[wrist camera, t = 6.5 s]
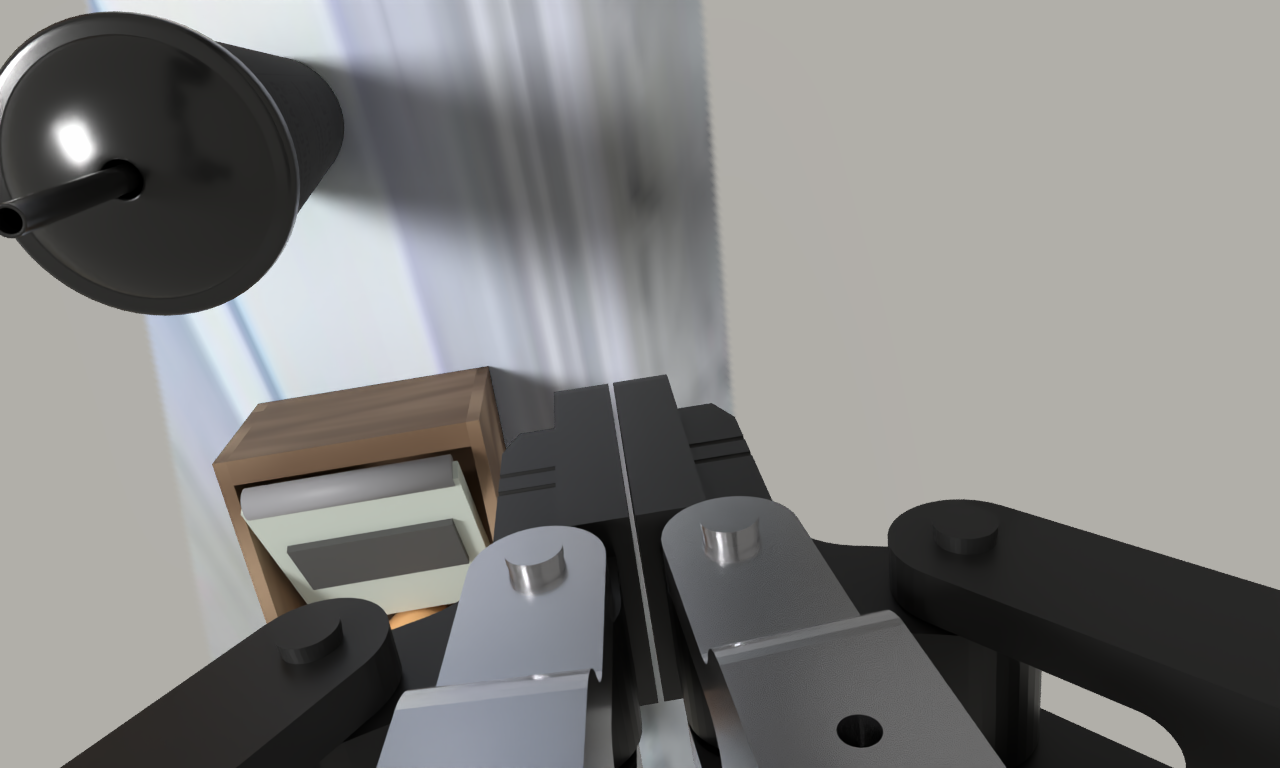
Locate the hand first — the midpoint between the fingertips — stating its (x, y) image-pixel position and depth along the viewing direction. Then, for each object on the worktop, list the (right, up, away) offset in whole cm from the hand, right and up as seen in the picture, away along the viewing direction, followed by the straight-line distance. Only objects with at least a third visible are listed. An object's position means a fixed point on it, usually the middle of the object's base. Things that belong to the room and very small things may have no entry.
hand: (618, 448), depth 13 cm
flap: (-10, -5, +26) cm, 28 cm away
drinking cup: (-14, +11, +24) cm, 30 cm away
